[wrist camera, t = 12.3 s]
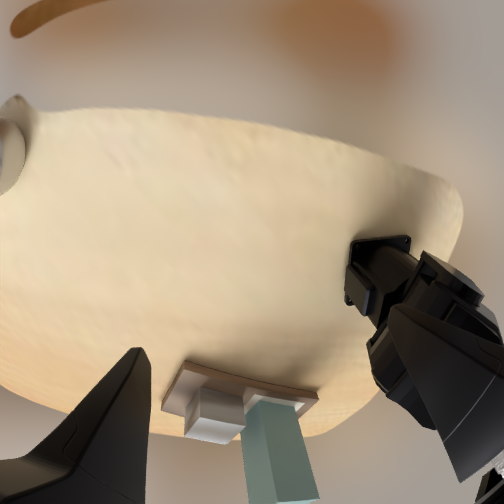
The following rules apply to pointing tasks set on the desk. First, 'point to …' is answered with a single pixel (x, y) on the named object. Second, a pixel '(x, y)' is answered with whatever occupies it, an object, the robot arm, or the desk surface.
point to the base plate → (226, 385)
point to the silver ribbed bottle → (10, 154)
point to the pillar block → (276, 457)
